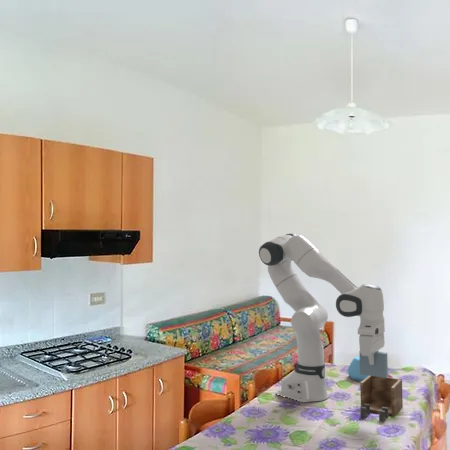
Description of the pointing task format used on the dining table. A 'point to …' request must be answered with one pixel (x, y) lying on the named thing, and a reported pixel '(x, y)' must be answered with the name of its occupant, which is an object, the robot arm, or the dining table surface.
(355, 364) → the sugar bowl
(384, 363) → the door
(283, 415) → the dining table surface
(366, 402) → the cabinet
